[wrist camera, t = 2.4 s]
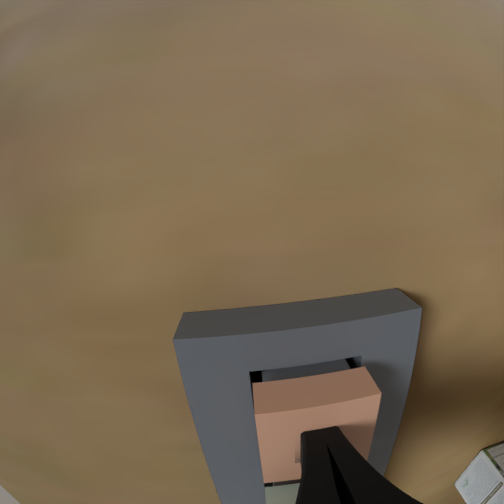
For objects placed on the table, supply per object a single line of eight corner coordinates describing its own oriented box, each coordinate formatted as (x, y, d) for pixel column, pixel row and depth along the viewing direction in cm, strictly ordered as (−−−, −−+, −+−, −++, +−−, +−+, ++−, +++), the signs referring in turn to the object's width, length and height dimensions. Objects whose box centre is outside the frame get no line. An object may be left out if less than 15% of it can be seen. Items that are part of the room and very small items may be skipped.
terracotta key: (340, 403, 15) (365, 465, 10) (257, 415, 15) (263, 483, 10) (344, 334, 14) (381, 393, 9) (250, 346, 14) (254, 414, 9)
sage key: (340, 476, 14) (358, 534, 10) (266, 487, 14) (272, 549, 10) (347, 431, 13) (374, 498, 9) (260, 444, 13) (267, 519, 9)
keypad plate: (359, 493, 18) (367, 515, 15) (234, 511, 18) (234, 535, 15) (396, 288, 14) (422, 307, 11) (183, 312, 14) (172, 339, 11)
